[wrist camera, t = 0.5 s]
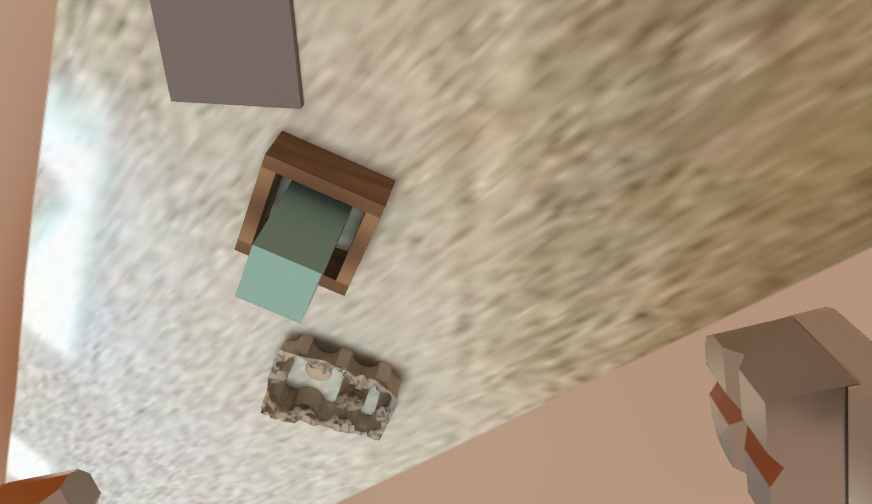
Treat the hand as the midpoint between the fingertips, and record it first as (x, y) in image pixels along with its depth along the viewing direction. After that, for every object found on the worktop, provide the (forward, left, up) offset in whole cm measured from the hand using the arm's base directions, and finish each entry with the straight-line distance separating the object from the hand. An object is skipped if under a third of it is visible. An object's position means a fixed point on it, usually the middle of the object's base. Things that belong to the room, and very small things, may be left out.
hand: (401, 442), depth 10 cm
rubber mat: (+8, -19, -39) cm, 44 cm away
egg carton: (+37, -14, -39) cm, 56 cm away
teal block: (+20, -14, -39) cm, 46 cm away
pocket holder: (+20, -14, -39) cm, 46 cm away
